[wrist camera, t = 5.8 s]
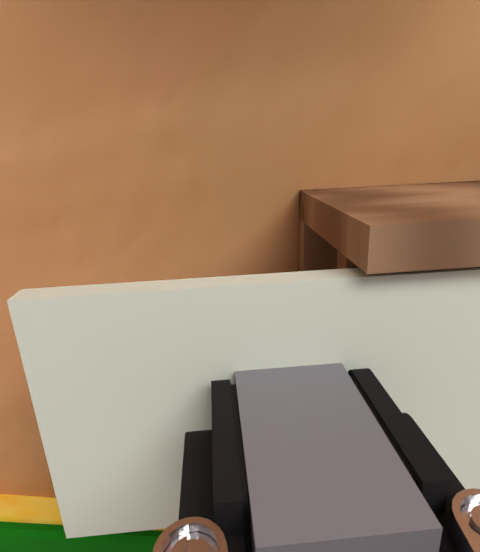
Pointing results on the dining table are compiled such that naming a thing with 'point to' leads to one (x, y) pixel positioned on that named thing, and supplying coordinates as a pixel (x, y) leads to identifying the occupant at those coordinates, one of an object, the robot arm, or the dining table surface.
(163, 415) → the cover plate
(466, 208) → the slide box
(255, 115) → the dining table surface
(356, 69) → the dining table surface
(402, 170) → the dining table surface
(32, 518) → the dish sponge
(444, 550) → the robot arm
